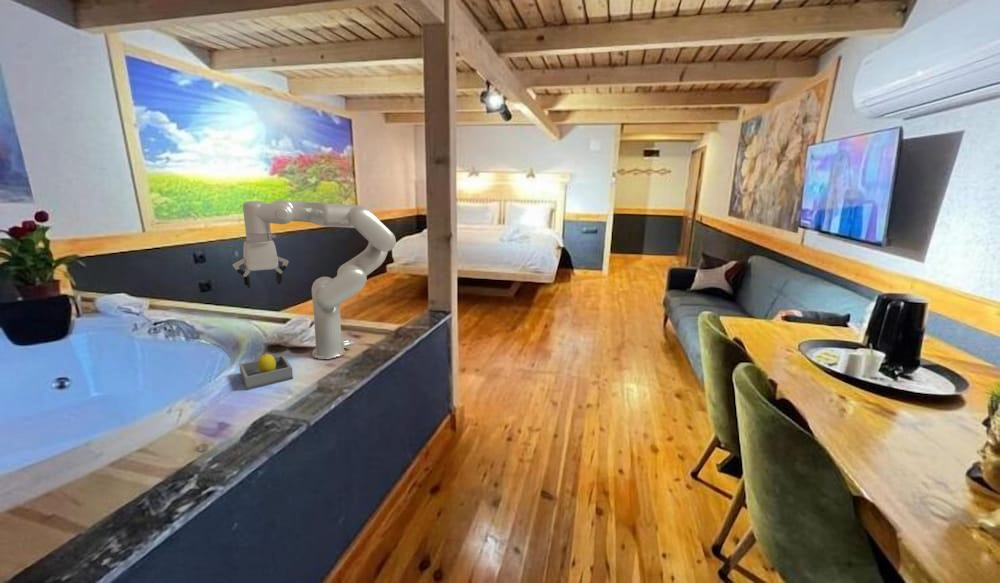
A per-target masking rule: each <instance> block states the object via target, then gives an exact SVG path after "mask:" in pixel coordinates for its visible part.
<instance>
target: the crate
mask: <svg viewBox="0 0 1000 583" xmlns="http://www.w3.org/2000/svg"><path fill="white" fill-rule="evenodd" d="M273 357H274V359H275V361H276V367H275V370H274V371H269V372H265V373H261V372H260V371H259V369H258V360H259V359H257V360H252V361H248V362H242V363H239V365H238V366H239V372H240V373H241V374H240V377H241V376H242V377H241V379H243V380H242V382H243V384H244V386H245V389H246V391H249V390H250V391H251V390H253V389H254V390H255V389H257V388H261V387H266V386H269V385H273V384H278V383H281V382H286V381H290V380H293V379H294V375H293V367H292V366H291V364H290V362H289V361H288V359H287V358H286V357H285V355H284V354H281V355H276V356H273Z"/></svg>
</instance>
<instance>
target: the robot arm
mask: <svg viewBox="0 0 1000 583" xmlns="http://www.w3.org/2000/svg"><path fill="white" fill-rule="evenodd" d="M242 212H243V219H244V220H243V221H244V222H243V223H244V228H245V237H246V238H245V239H246V241H243V250H242V252H243V253H242V254H243V258H241V259H240V260H237V261H236V262H234V263H233V264H232V267H233V268H234V269H235V270H236V272H237V273H238V274H239V275H241V276H242V277H243V284H244V286H246V287H247V289H248V288H249V289H250V288H251V281H250V276H249V274H250V273H251V272H256V271H258V272H259V271H268V270H269V271H270V270H275V271H276V272H275V279H276V280H275V281H276V283H277V284H278V285H282V282H283V277H282V276H283V275H282V274H283V272H284V271H285V270H286V269H287V267H288V264H289V263H290V262H289V260H288V259H285V258H283V257H280V256H278V253H277V249H276V244H275V241H274V240H273V239H274V238H275V239H276V238H277V235H276V233H272V232H271V231H272V230H271V224H275V225H287V224H290V223H291V222H303V223H311V224H314V225H318V226H320V227H326V228H327V227H329V228H352V229H355V230H357V232H358V233H359V234H360V235H361V236H363V238H364V239H365V240H367V241H368V244H367V246H366V248H365V249H364V250H363V251H361V252H360V253H359V254H357V255H356V256H354V257H352V258H351V259H349V260H348V261H346V262H345V263H343V264H342V265H340V266H339V268H338V269H337V272H336V273H337V274H336V276H335V277H333V278H332V277H329V276H321V277H318V278H317V279H315V281H313V283H312V286H311V298H312V307H313V322H314V323H313V324H314V333H315V334H314V335H315V336H314V338H315V348H314V349H313V350H312V353H311V354H312V355H313V356H312V358H314V357H315V358H314V359H316V358H318V359H317V360H320V359H326V358H333V357H336V356H340V355H341V354H340V353H342V351H344V348H348V347H353V346H354V345H355V343H354V341H353V340H350V341H349V340H348V339H347V340H342V326H341V325H342V324H341V307H340V306H341V304H343V303H345V301H347V300H349V299H351V298H352V297H353V296H355V295H357V294H358V293H359V292H361V290H362V289H363V288H364V287H365V285H366V284H367V281H368V280H367V277H368V276H369V275H370V274H371V273H373V272H374V271H375V270H377V269H378V268H379V267H381V265H382V264H383V263H384V262H385V260H386V257H387V256H388V253H389V252H391V251H392V250H393V249H394V248H395V247H396V243H397V240H396V236H395V234H394V232H392V231H391V230H390V229H389V227H387V226H386V225H385V224H384V223H383V222H382V221H381V220H380V219H379V218H378V217H377V216H376V215H375V214H374V213H373V212H372V210H370V209H369V208H367V207H364V206H362V205H356V204H344V203H343V204H341V203H340V204H339V203H329V202H328V203H327V202H309V201H299V200H297V201H296V200H282V199H281V200H280V199H279V200H276V201H273V202H271V203H270V202H269V203H266V202H264V201H257V200H256V201H255V200H253V201H246V202H244V203H243V204H242ZM279 262H281V263H282V265H281V266H280V267H279ZM241 265H244V270H242V269H241V268H240V266H241ZM342 354H343V353H342Z"/></svg>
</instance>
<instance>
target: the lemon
mask: <svg viewBox="0 0 1000 583" xmlns="http://www.w3.org/2000/svg"><path fill="white" fill-rule="evenodd" d="M274 357H275V356H273V355H272V354H267V353H264V354H263V355H261V356H260V357H259V358H258V359H257V360H258V369H259V371H260V372H261V373H265V372H269V371H274V370H275V367H276V361H275V359H274Z"/></svg>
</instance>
